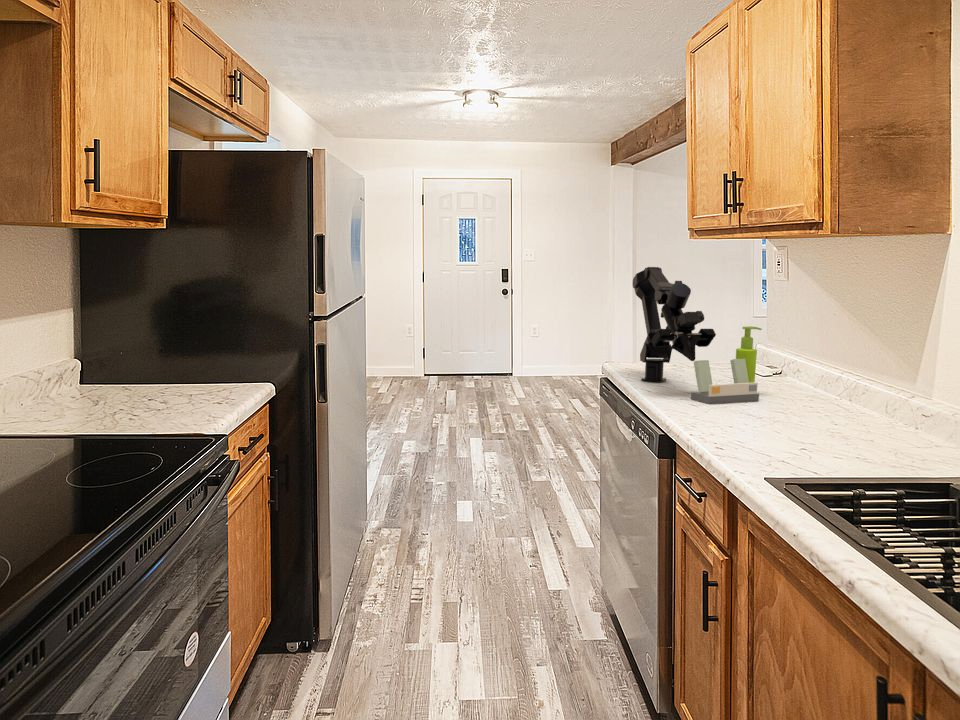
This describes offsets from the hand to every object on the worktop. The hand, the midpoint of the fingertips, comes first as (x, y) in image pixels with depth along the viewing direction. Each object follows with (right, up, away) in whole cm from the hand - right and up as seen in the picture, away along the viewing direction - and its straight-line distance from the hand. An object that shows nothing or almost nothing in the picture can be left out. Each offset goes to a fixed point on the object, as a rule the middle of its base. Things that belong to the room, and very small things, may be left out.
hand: (693, 360), depth 236 cm
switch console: (+8, -11, -3) cm, 14 cm away
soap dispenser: (+19, -10, +11) cm, 24 cm away
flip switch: (+2, -10, -6) cm, 11 cm away
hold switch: (+14, -9, -1) cm, 17 cm away
